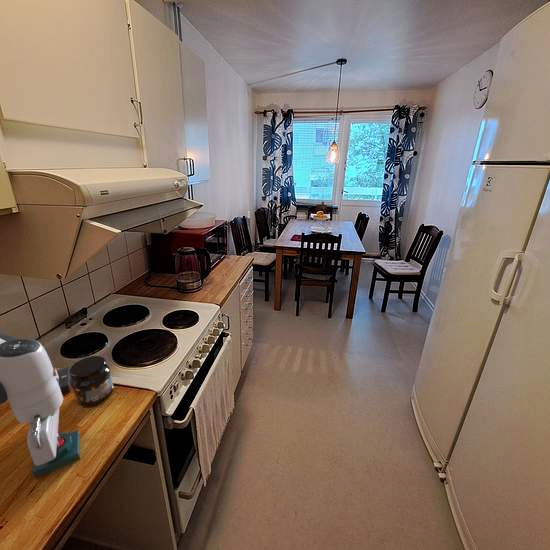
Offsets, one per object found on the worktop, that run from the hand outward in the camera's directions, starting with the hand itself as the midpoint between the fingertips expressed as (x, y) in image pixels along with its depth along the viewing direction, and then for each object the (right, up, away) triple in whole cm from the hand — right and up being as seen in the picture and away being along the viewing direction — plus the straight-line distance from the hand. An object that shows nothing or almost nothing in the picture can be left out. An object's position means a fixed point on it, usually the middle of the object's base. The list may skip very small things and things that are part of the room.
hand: (54, 444), depth 71 cm
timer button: (0, -2, +1) cm, 2 cm away
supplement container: (-2, +3, +20) cm, 21 cm away
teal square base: (0, -4, +2) cm, 4 cm away
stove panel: (-18, +5, +23) cm, 30 cm away
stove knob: (-18, +8, +22) cm, 29 cm away
